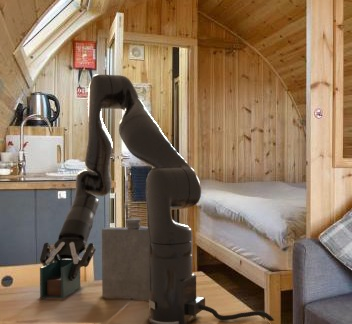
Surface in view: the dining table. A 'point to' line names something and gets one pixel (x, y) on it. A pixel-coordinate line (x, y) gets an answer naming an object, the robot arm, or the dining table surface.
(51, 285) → the walnut block
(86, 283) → the dining table surface
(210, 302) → the dining table surface
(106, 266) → the hip flask
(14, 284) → the dining table surface
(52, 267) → the teal open box
